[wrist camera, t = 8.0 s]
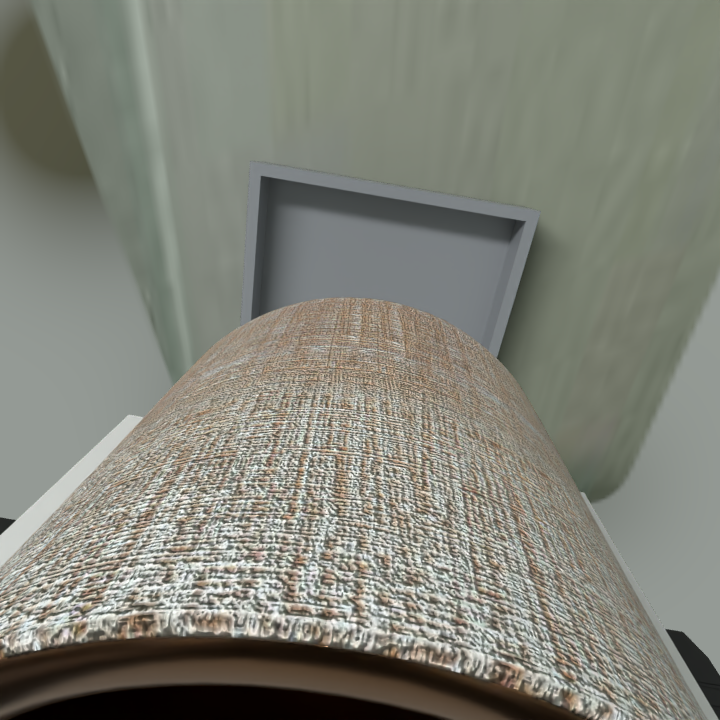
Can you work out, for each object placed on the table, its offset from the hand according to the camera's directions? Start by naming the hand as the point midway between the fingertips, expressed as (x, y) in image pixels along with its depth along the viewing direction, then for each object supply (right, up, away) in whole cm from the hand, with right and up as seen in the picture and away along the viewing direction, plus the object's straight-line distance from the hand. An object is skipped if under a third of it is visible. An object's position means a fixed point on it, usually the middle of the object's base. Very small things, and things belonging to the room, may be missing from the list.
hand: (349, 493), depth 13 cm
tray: (+1, +7, +16) cm, 17 cm away
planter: (0, +1, +2) cm, 2 cm away
